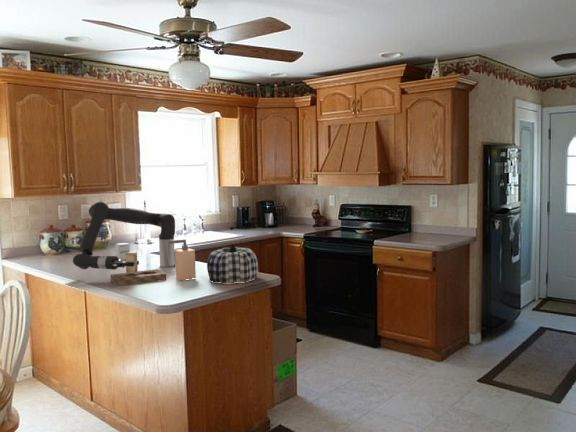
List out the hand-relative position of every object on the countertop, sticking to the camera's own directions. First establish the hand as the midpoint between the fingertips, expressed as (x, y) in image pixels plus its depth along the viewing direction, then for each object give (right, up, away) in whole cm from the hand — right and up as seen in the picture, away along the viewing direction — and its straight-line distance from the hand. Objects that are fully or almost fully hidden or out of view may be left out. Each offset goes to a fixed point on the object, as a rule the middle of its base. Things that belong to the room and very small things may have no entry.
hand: (136, 263), depth 283 cm
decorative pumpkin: (+53, -9, +3) cm, 54 cm away
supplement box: (-27, -5, +62) cm, 67 cm away
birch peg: (-3, -9, +1) cm, 10 cm away
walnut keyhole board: (0, -10, +3) cm, 10 cm away
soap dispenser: (+24, -9, +5) cm, 26 cm away
